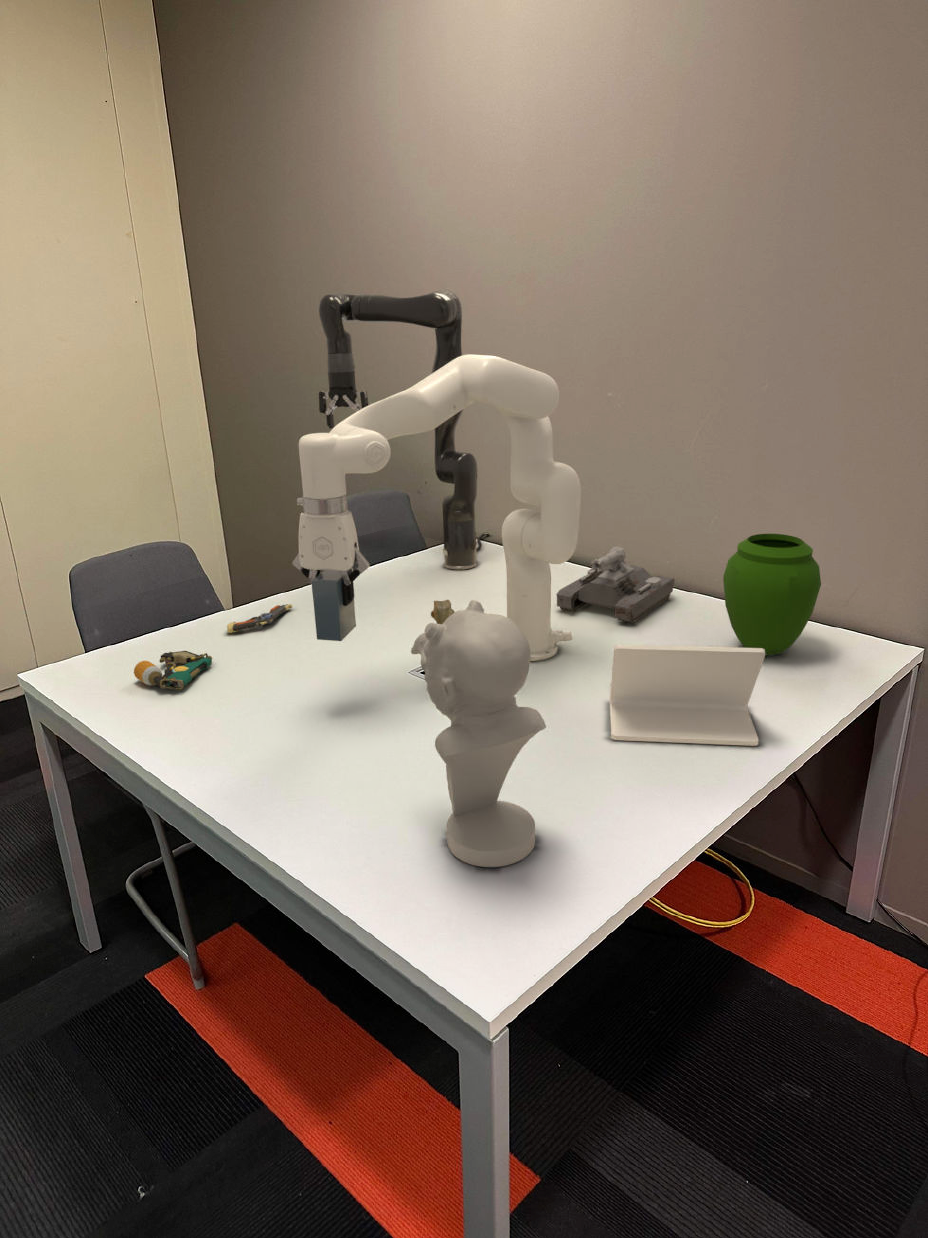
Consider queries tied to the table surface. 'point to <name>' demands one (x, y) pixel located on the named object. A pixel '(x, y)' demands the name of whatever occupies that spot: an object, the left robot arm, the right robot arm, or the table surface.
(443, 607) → the sculpture
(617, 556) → the toy
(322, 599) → the brick
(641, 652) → the tablet stand
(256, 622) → the toy gun
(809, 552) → the vase
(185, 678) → the green toy blaster
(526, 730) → the bust sculpture
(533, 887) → the table surface
